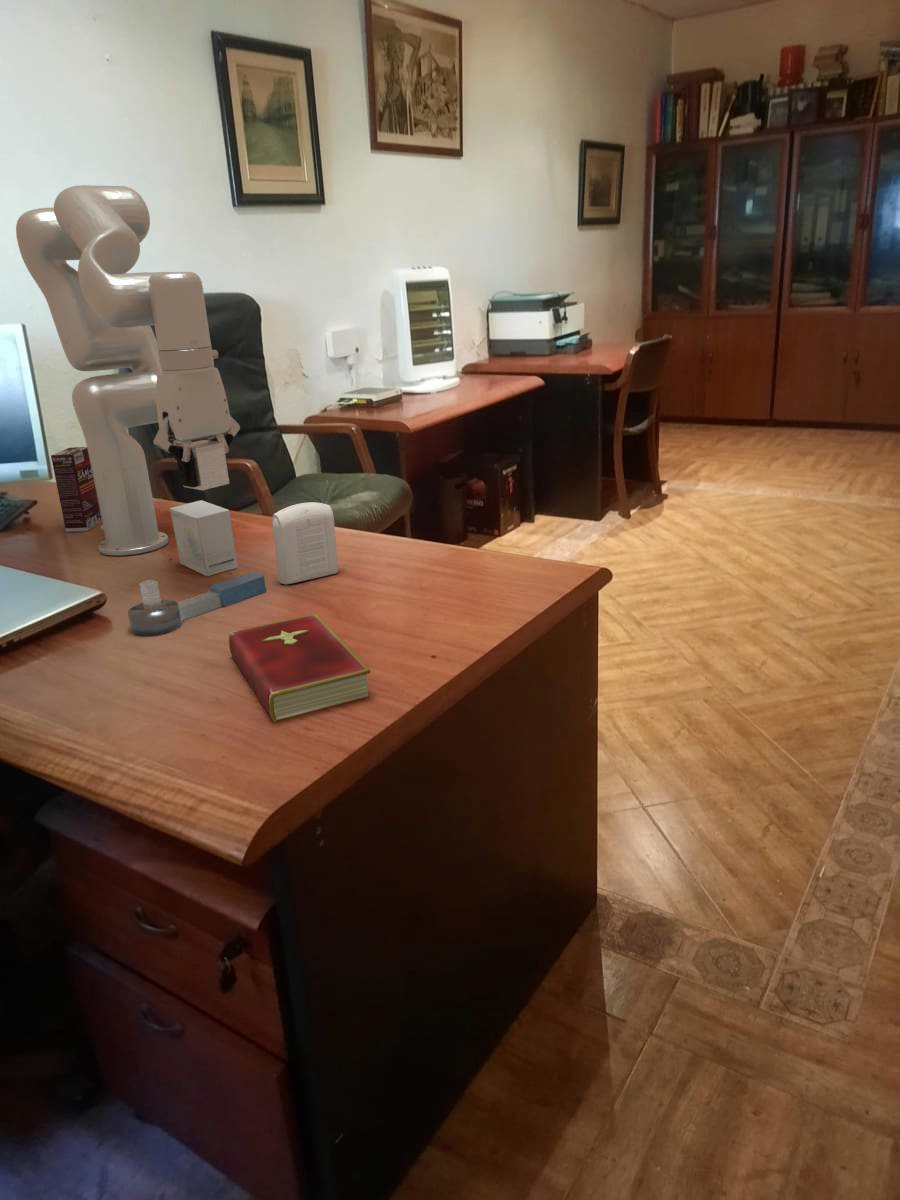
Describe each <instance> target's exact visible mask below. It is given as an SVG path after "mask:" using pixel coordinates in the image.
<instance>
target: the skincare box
mask: <svg viewBox="0 0 900 1200" xmlns="http://www.w3.org/2000/svg"><path fill="white" fill-rule="evenodd" d="M169 511H170V517H171V520H172V525H173V532H174V536H175V541H176V548H177V553H178V558H179V563H180V564H181V565H183V566H185V567H187V568H189V569H190V570H192V571H195V572H197V573H199V574H201V575H203V576H205V577H209V576H212V575H216V574H217V575H218V574H219V573H220V574H221V573H223V572H227V571H230V570H234V569H238V568H239V562H238V557H237V552H236V546H235V540H234V533H233V527H232V520H231V519H232V518H231V511H230V510H229V509H227V508H224V507H222V506H219V505H216V504H213V503H212V502H211V503H210V502H207V501H205V500H202V499H201V500H196V501H193V502H189V503H184V504H181V505H176V506H173V507H170V508H169Z"/></svg>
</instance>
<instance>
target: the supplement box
mask: <svg viewBox="0 0 900 1200" xmlns="http://www.w3.org/2000/svg"><path fill="white" fill-rule="evenodd" d="M50 458H51V463H52V469H53V474H54V479H55V483H56V487H57V494H58V498H59V504H60V509H61V513H62V519H63V524H64V529H65V530H64V531H65V533H84V532H89V531H90V530H91V529H93V528H94V527H96V526H97V525H98V524H99V523H102V518H101V513H100V508H99V503H98V498H97V493H96V488H95V483H94V478H93V472H92V468H91V463H90V458H89V453H88V449H87V446H76V447H68V448H66V449H63V450H61V451H58V452H56V453H54V454H51V455H50Z"/></svg>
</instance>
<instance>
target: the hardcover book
mask: <svg viewBox="0 0 900 1200" xmlns="http://www.w3.org/2000/svg"><path fill="white" fill-rule="evenodd" d="M228 646H229V651H230V654H231V657H232V658H233V660H234V661H235V664H236V665H237V666H238V668H239V669H240V672H241V673H242V674H243V676H244V677H245V678H244V679H246V681H247V683H248V684H249V685H250V687H251V689H252V690H253V692H254V693H255V695H256V696H257V698H258V699H259V701H260V703H261V705H262V706H263V708H264V710H266V711H265V712H267V714H268V716H269V717H270V719H271V720H272V722H273V723H277V722H278V720H282V719H285V718H290V717H294V716H298V715H302V714H305V713H310V712H313V711H317V710H318V711H319V710H321V709H325V708H329V707H334V706H338V705H340V704H341V705H342V704H346V703H349V702H352V701H356V700H360V699H366V698H369V697H370V696H369V688H368V686H369V685H368V677H367V675H368V674H371V669H370V668H369V667H368V666H367V665H366V664H365V663H364V662H363V661H362V660H361V659H360V657H358V656H357V655H356V653H355V652H354V651H352V650H351V649H350V648H349V646H348V645H347V644H346V643H345V642H344V641H343V640H342V639H341V638H340V637H339V636H338V635H337V634H336V633H335V632H334V631H333V630H332V629H331V628H330V627H329V626H328V625H327V624H326V623H325V622H324V621H323V620H322V619H321V618H320V617H319V615H318V614H316V613H311V614H307V615H302V616H297V617H292V618H288V619H287V618H286V619H283V620H279V621H274V622H273V621H272V622H269V623H265V624H259V625H255V626H250V627H246V628H241V629H236V630H231V631H229V633H228Z"/></svg>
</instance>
